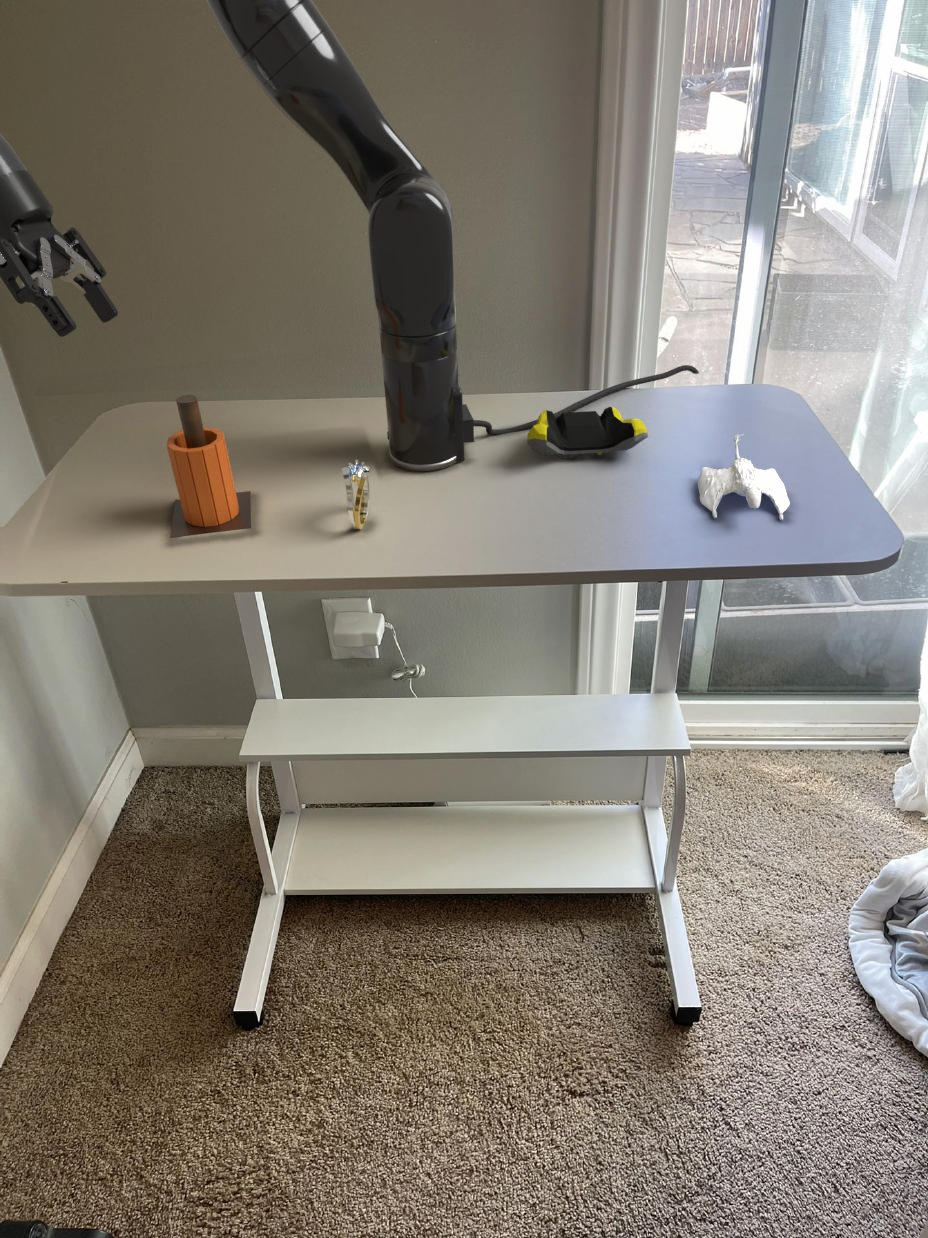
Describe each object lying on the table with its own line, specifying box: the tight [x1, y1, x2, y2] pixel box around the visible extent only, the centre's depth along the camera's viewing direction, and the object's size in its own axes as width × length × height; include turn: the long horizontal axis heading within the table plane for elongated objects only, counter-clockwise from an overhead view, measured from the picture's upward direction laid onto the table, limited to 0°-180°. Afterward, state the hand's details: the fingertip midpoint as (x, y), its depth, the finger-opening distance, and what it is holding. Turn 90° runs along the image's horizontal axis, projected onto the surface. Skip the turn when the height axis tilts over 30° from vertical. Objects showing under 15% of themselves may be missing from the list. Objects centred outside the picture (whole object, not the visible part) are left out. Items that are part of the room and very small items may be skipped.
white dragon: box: [697, 433, 791, 521], centre depth 108 cm, size 18×10×4 cm, turn 174°
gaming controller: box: [526, 405, 649, 459], centre depth 118 cm, size 15×6×10 cm
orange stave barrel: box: [166, 426, 239, 527], centre depth 105 cm, size 6×6×10 cm
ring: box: [341, 459, 371, 531], centre depth 103 cm, size 7×3×8 cm, turn 171°
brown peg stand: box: [170, 394, 252, 539], centre depth 104 cm, size 9×9×15 cm
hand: (91, 325), depth 103 cm, fingers open, 8 cm apart
